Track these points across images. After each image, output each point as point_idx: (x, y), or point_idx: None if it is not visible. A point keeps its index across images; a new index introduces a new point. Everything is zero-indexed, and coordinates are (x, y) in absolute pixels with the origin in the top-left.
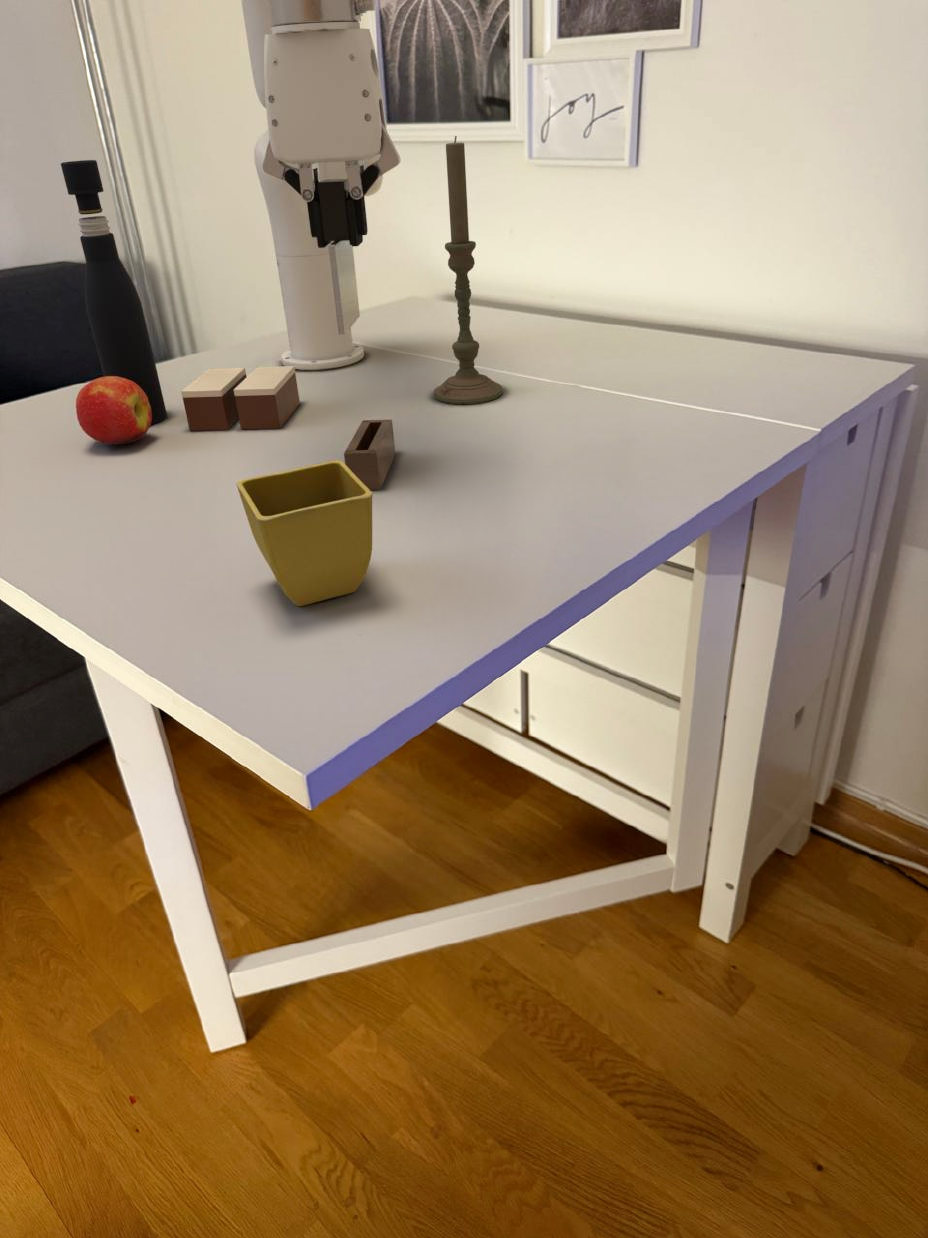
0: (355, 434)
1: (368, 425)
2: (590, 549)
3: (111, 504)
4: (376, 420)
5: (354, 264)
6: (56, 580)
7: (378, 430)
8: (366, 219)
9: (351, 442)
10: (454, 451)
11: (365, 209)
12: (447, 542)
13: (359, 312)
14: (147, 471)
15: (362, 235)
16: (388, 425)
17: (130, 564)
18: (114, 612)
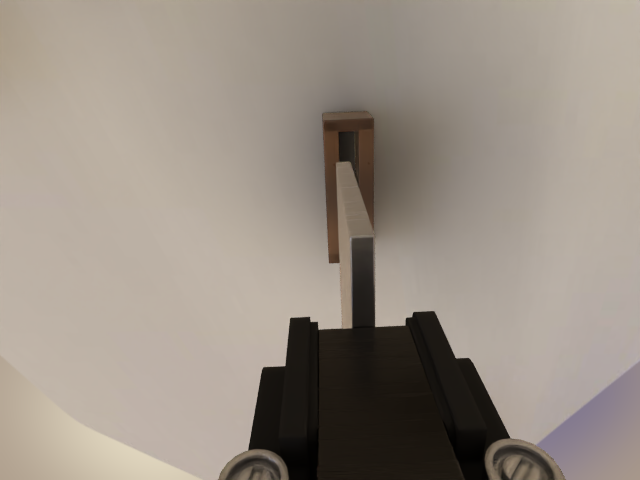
0: (327, 190)
1: (338, 147)
2: (587, 366)
3: (47, 280)
4: (347, 123)
5: (362, 199)
6: (118, 422)
7: (360, 173)
8: (482, 382)
9: (330, 224)
10: (458, 99)
11: (497, 414)
12: (455, 356)
13: (351, 165)
14: (13, 176)
15: (436, 318)
16: (372, 150)
17: (166, 398)
18: (202, 458)
